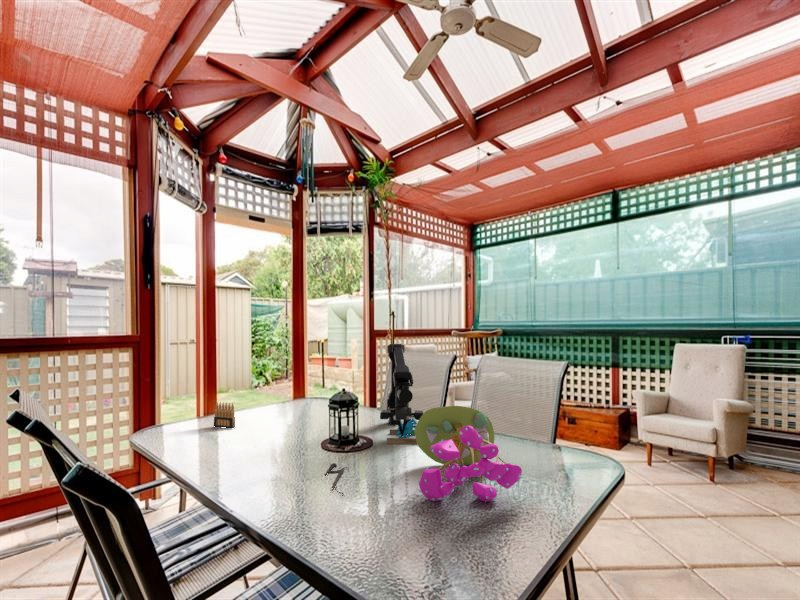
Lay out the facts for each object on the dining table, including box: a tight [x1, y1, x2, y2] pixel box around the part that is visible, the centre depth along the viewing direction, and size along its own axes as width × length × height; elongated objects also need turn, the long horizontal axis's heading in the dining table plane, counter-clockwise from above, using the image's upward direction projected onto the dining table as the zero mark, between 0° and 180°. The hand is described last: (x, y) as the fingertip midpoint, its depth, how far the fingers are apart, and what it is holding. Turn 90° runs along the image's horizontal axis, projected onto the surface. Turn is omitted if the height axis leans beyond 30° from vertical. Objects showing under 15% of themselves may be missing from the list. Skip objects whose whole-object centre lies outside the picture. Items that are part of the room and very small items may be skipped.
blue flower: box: [396, 418, 418, 438], centre depth 165 cm, size 11×6×10 cm
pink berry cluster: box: [414, 405, 523, 503], centre depth 114 cm, size 30×28×35 cm
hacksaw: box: [323, 462, 348, 497], centre depth 119 cm, size 24×10×2 cm, turn 173°
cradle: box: [386, 428, 418, 445], centre depth 162 cm, size 14×20×3 cm
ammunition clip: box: [213, 401, 236, 429], centre depth 179 cm, size 11×2×12 cm, turn 75°
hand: (402, 435), depth 162 cm, fingers closed
